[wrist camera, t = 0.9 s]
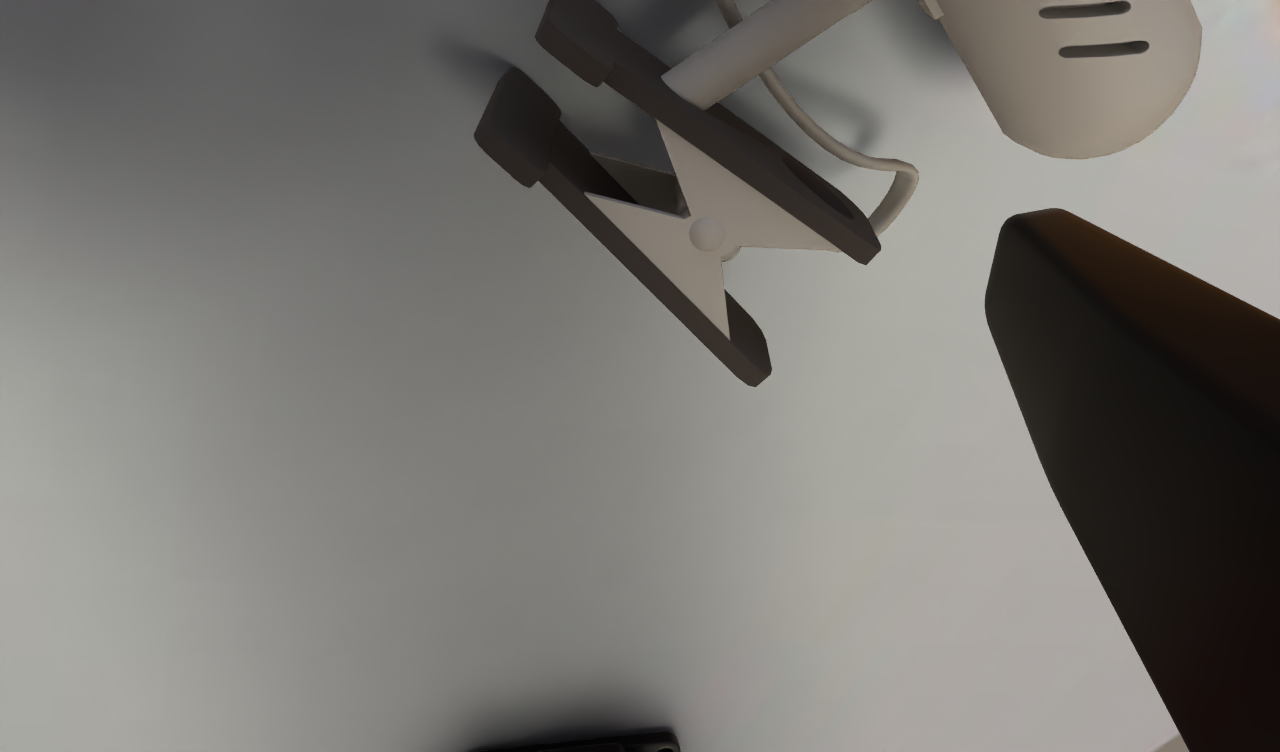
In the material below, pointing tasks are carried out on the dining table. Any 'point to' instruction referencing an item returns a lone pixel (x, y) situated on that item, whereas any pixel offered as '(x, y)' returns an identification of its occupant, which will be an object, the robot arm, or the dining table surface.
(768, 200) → the clip-on lamp
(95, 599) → the dining table surface
